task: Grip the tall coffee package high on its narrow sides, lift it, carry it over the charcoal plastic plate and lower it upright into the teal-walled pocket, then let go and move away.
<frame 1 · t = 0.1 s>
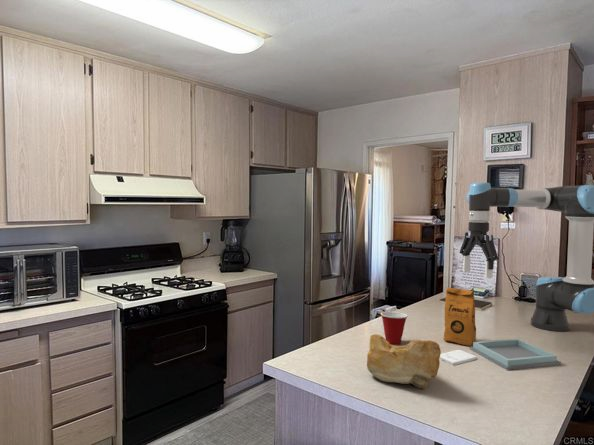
hand: (477, 274, 163), 28 cm above the counter, tool pointing down, fingers open, 13 cm apart
rough brown rock: (406, 379, 132), on the counter
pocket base: (512, 356, 152), on the counter
plastic cup: (393, 342, 166), on the counter
external hard drive: (455, 360, 150), on the counter
hardcover book: (465, 305, 229), on the counter
coffee package: (459, 342, 167), on the counter
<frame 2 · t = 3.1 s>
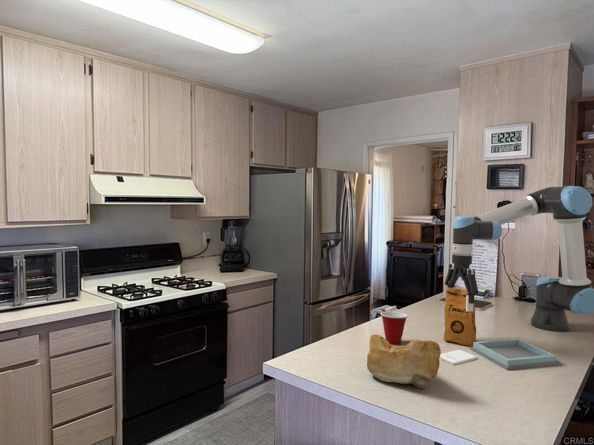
hand: (459, 307, 166), 14 cm above the counter, tool pointing down, fingers closed on coffee package, 12 cm apart
coffee package: (459, 342, 167), on the counter, touching gripper
everything else where it was.
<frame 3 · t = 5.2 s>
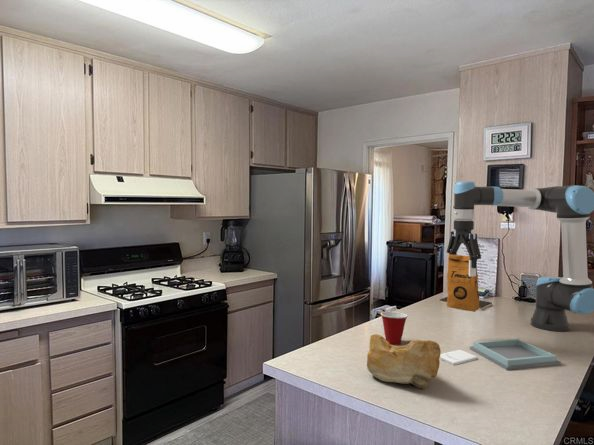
hand: (462, 273, 165), 28 cm above the counter, tool pointing down, fingers closed on coffee package, 12 cm apart
coffee package: (462, 309, 166), point 14 cm above the counter, touching gripper
everything else where it was.
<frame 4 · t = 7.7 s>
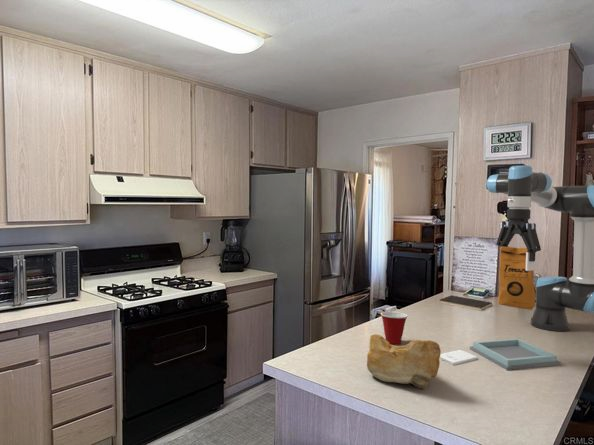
hand: (516, 267, 150), 33 cm above the counter, tool pointing down, fingers closed on coffee package, 12 cm apart
coffee package: (516, 306, 150), point 19 cm above the counter, touching gripper
everything else where it was.
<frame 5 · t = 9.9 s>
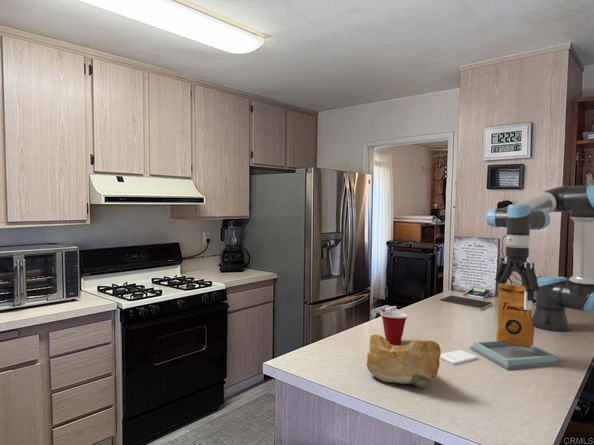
hand: (514, 304, 151), 20 cm above the counter, tool pointing down, fingers closed on coffee package, 12 cm apart
coffee package: (514, 343, 151), point 5 cm above the counter, touching gripper
everything else where it was.
when the fingers open (17 cm above the counter, at t = 12.0 s): coffee package drops 1 cm, resting on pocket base.
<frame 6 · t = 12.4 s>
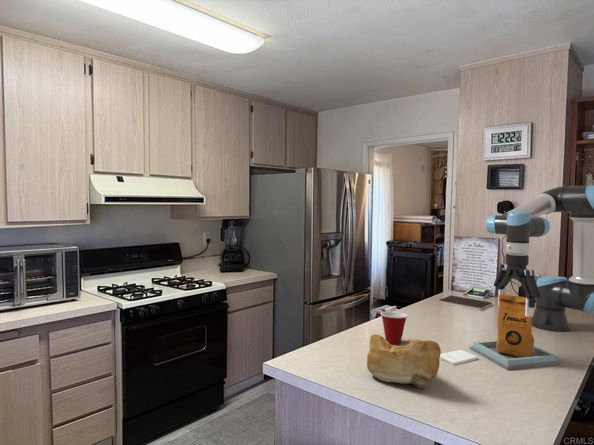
hand: (514, 311, 151), 17 cm above the counter, tool pointing down, fingers open, 13 cm apart
coffee package: (514, 354, 151), point 1 cm above the counter, touching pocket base
everything else where it was.
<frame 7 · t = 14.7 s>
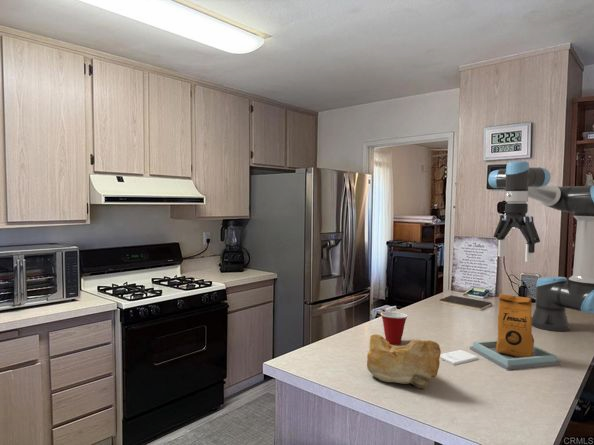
hand: (514, 258, 155), 36 cm above the counter, tool pointing down, fingers open, 13 cm apart
nothing on the counter moved.
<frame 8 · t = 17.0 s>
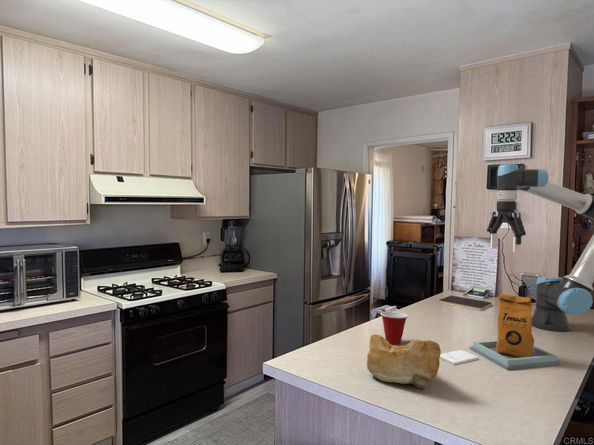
hand: (504, 250, 175), 37 cm above the counter, tool pointing down, fingers open, 13 cm apart
nothing on the counter moved.
at the end: coffee package 0.4 cm off-centre on the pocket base, point 0.8 cm above the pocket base's base; coffee package tilted 0°; the gripper is holding nothing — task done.
